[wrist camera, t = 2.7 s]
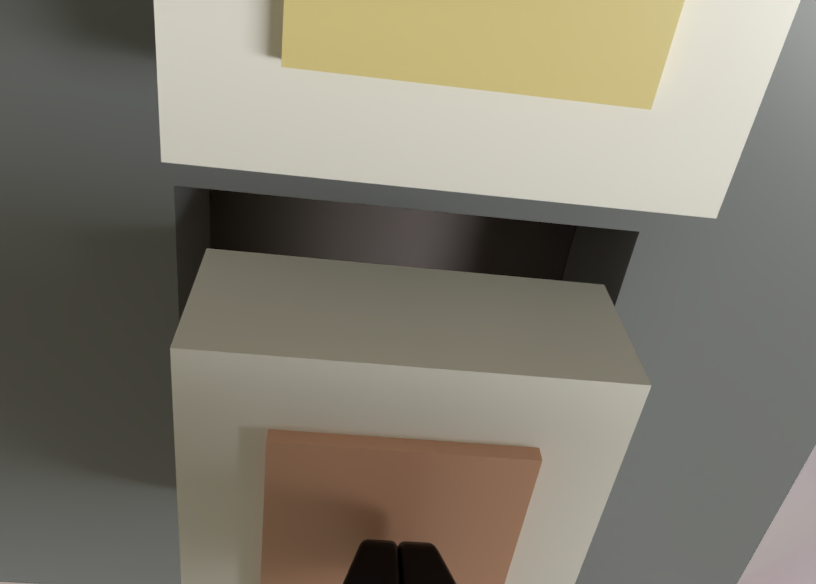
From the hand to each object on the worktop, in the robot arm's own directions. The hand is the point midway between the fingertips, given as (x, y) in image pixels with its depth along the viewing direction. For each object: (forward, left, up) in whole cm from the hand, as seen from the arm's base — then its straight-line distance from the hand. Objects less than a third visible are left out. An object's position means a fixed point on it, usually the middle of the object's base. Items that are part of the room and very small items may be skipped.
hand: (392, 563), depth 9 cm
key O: (0, 0, -2) cm, 2 cm away
